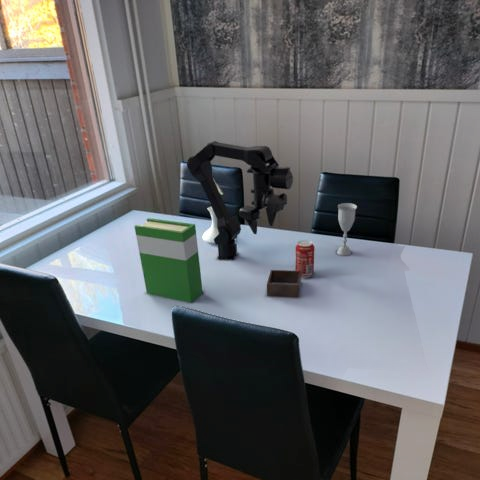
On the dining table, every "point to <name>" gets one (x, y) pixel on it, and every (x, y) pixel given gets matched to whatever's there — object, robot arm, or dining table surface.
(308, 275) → the beverage can
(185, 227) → the hardback book
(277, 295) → the crate
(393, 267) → the dining table surface
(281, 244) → the dining table surface
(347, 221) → the chalice
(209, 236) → the flower in vase
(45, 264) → the dining table surface
